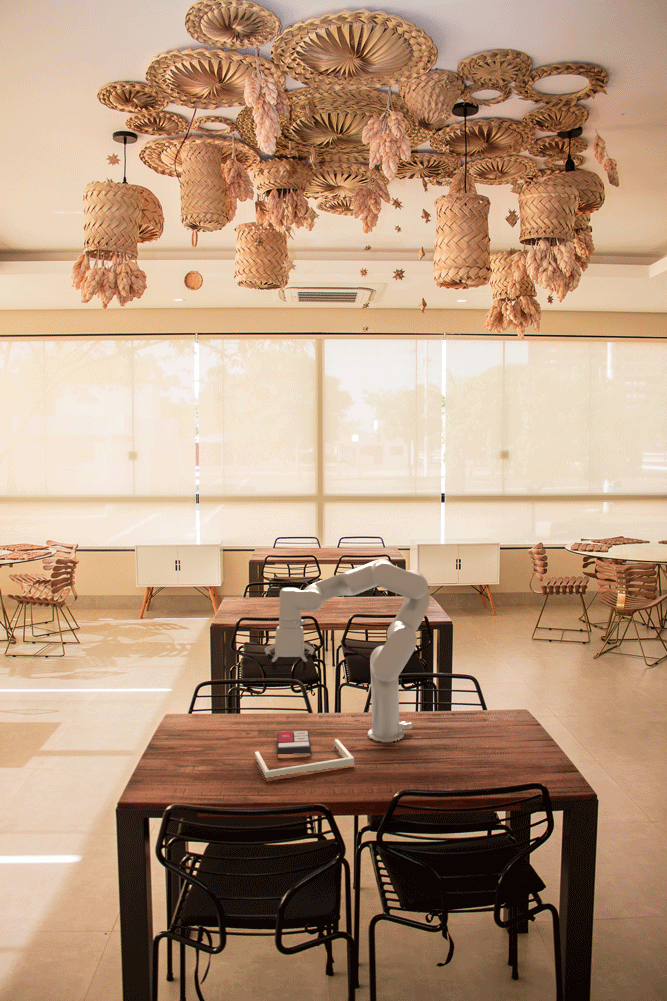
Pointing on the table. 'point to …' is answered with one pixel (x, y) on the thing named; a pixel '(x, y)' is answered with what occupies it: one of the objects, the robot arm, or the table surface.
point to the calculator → (293, 742)
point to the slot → (342, 762)
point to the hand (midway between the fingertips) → (289, 672)
